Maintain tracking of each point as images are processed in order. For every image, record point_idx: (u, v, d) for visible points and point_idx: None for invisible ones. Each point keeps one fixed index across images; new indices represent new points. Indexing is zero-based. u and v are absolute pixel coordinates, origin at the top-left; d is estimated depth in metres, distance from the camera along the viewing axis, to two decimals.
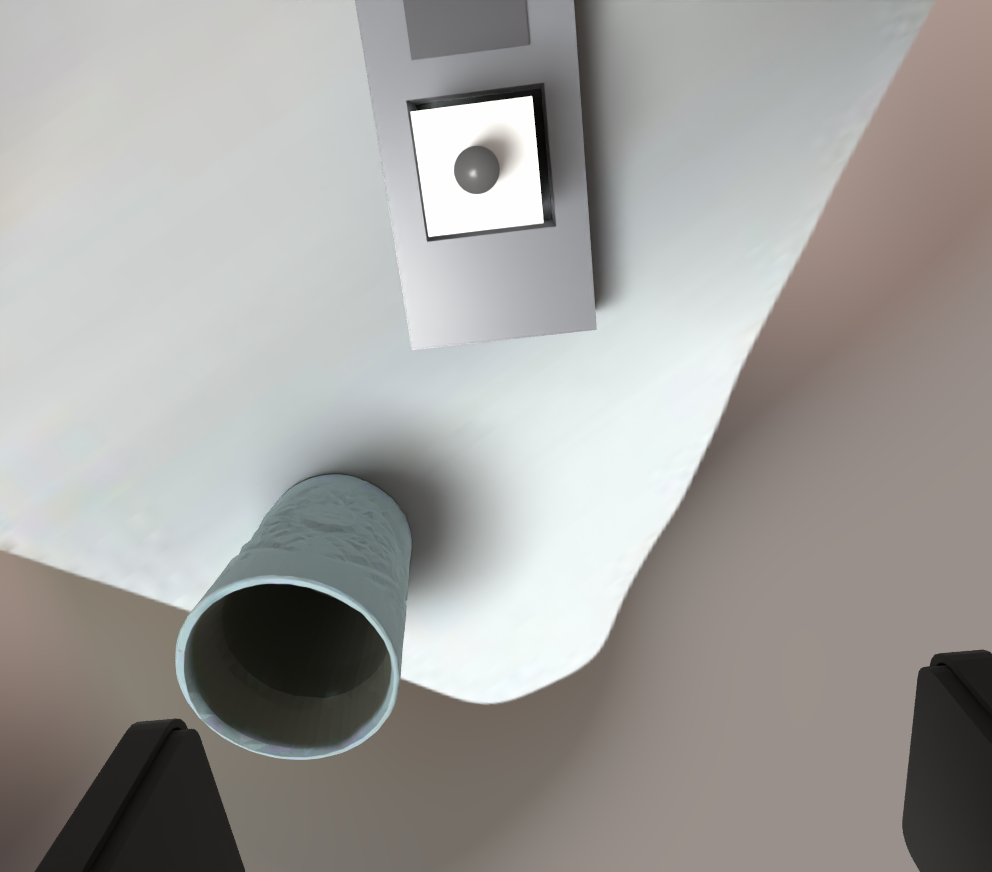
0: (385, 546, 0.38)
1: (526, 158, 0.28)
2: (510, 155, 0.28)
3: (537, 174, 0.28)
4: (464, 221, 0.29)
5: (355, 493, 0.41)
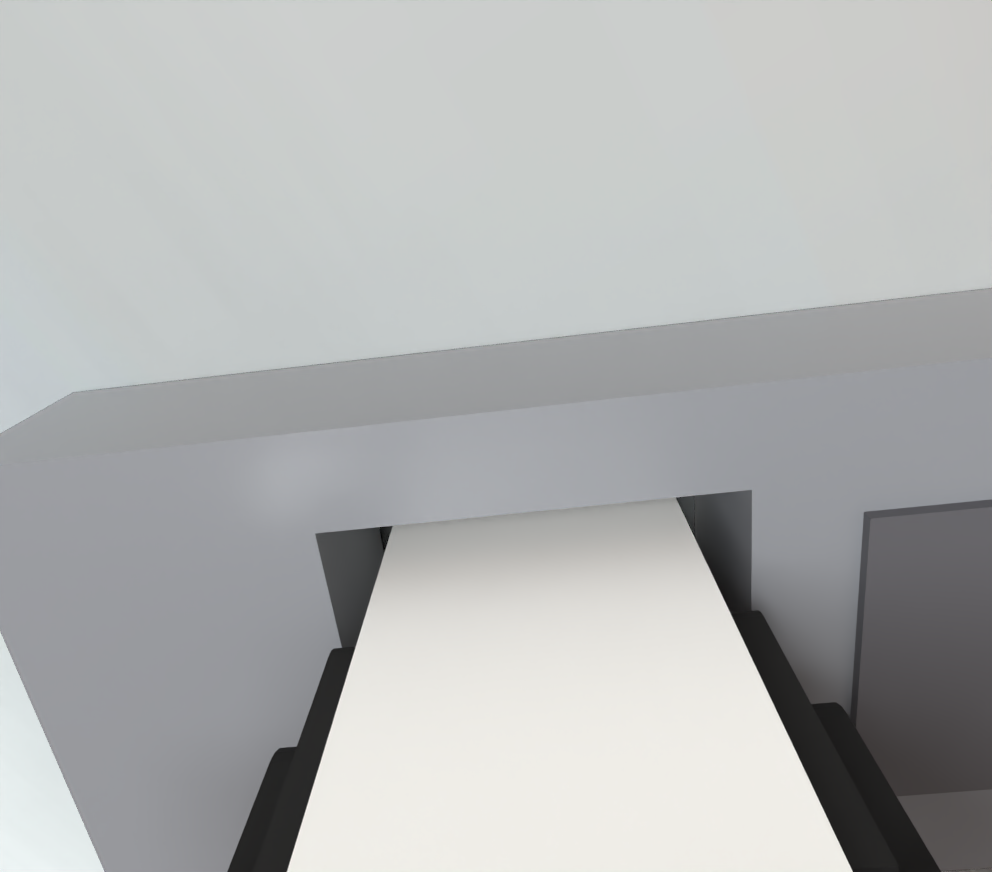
0: None
1: None
2: None
3: None
4: None
5: None
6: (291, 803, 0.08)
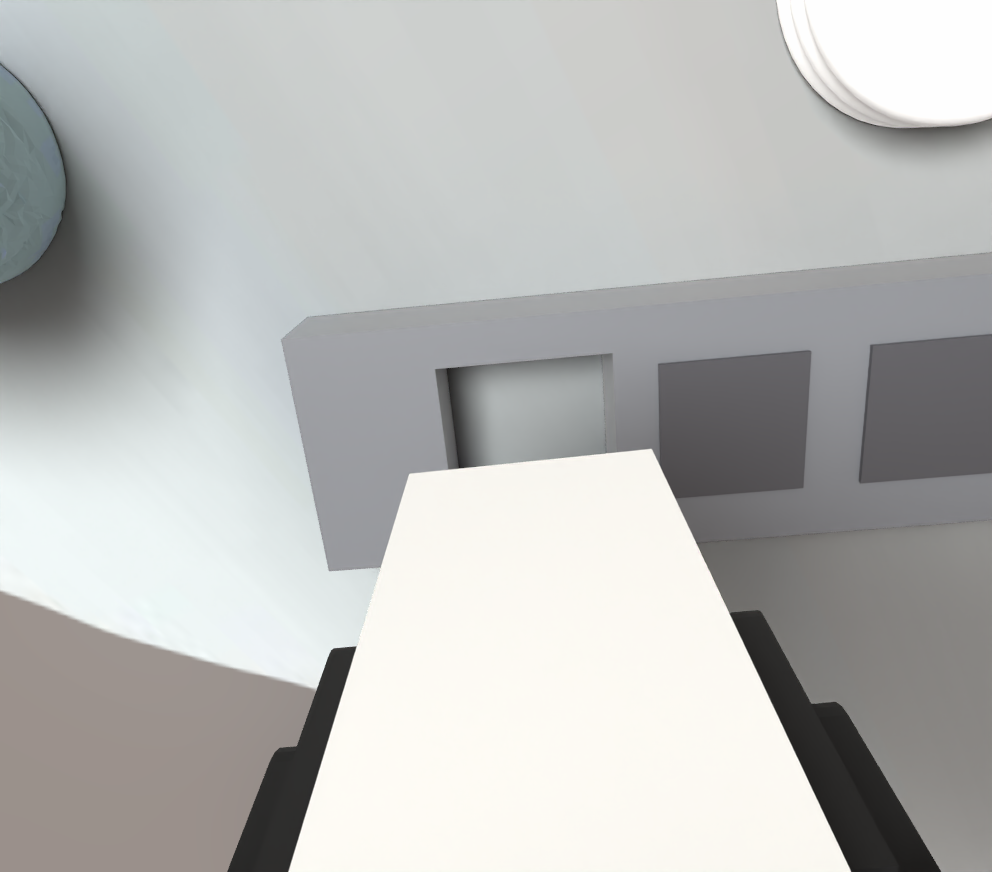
0: None
1: None
2: None
3: None
4: None
5: (32, 217, 0.25)
6: (291, 803, 0.08)
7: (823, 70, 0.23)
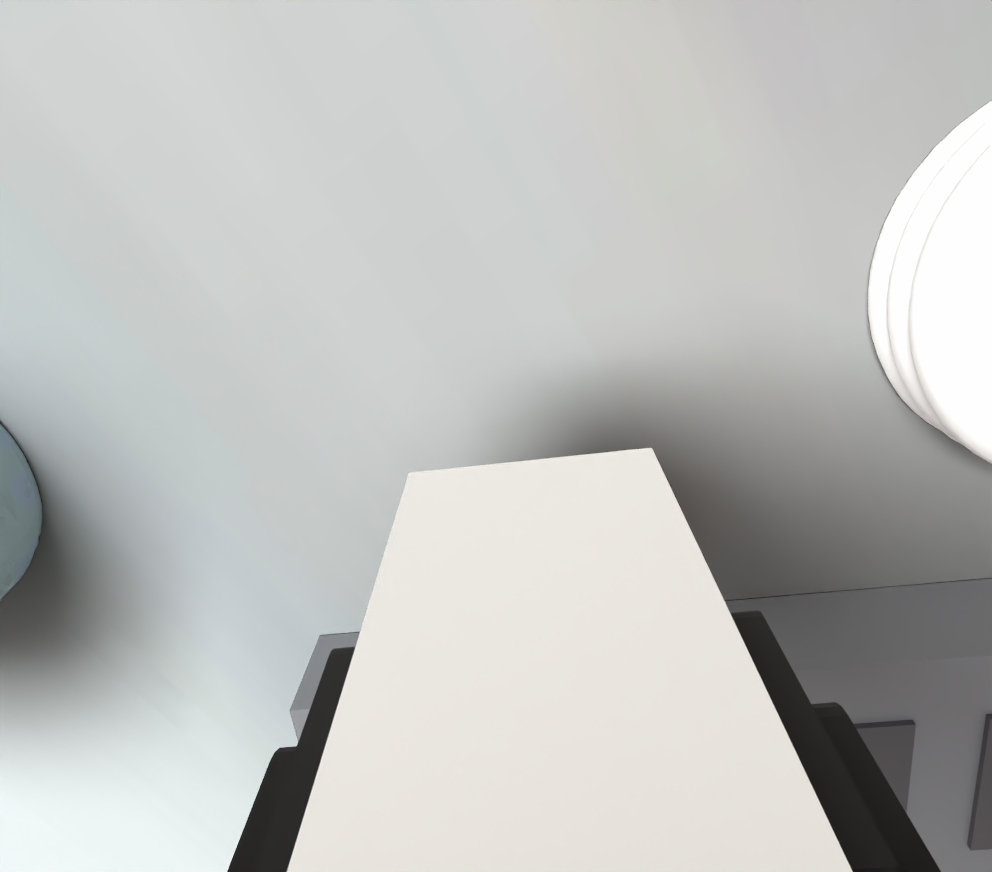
0: None
1: None
2: None
3: None
4: None
5: (1, 571, 0.21)
6: (291, 803, 0.08)
7: (931, 413, 0.19)
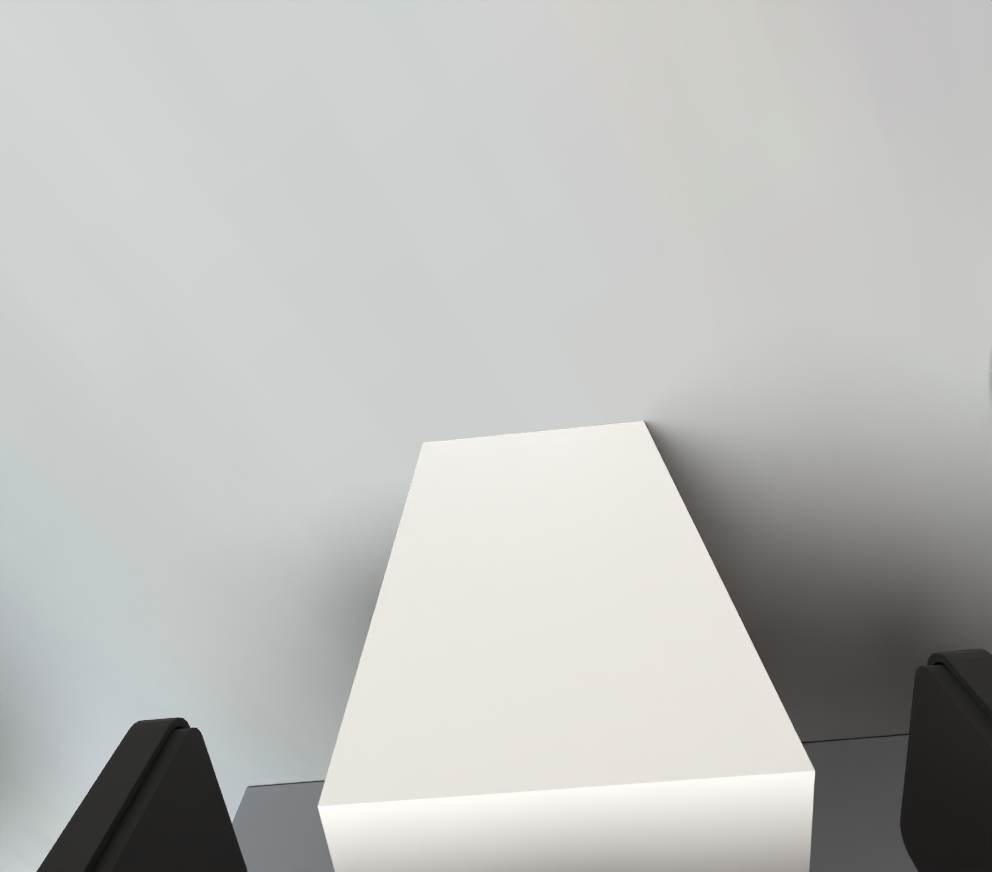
0: None
1: None
2: None
3: None
4: None
5: None
6: None
7: None
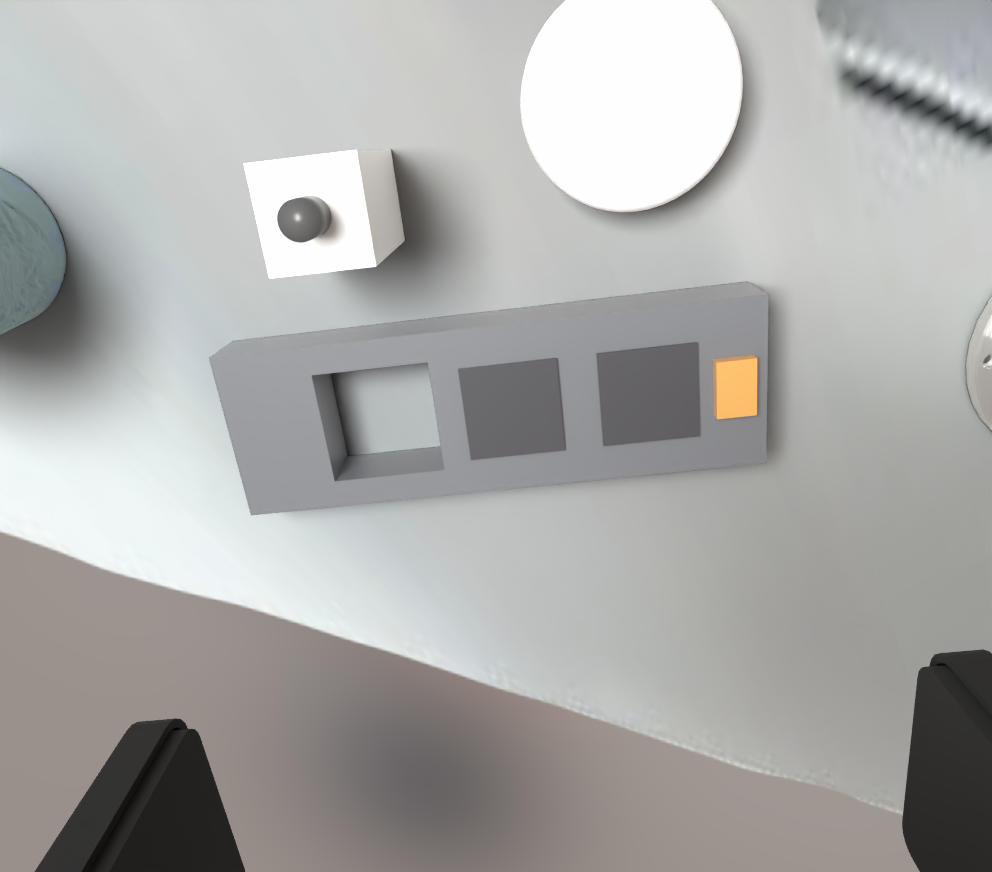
0: None
1: (324, 262, 0.30)
2: (325, 247, 0.30)
3: (311, 272, 0.31)
4: (262, 201, 0.30)
5: (44, 281, 0.38)
6: None
7: None
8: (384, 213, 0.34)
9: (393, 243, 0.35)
